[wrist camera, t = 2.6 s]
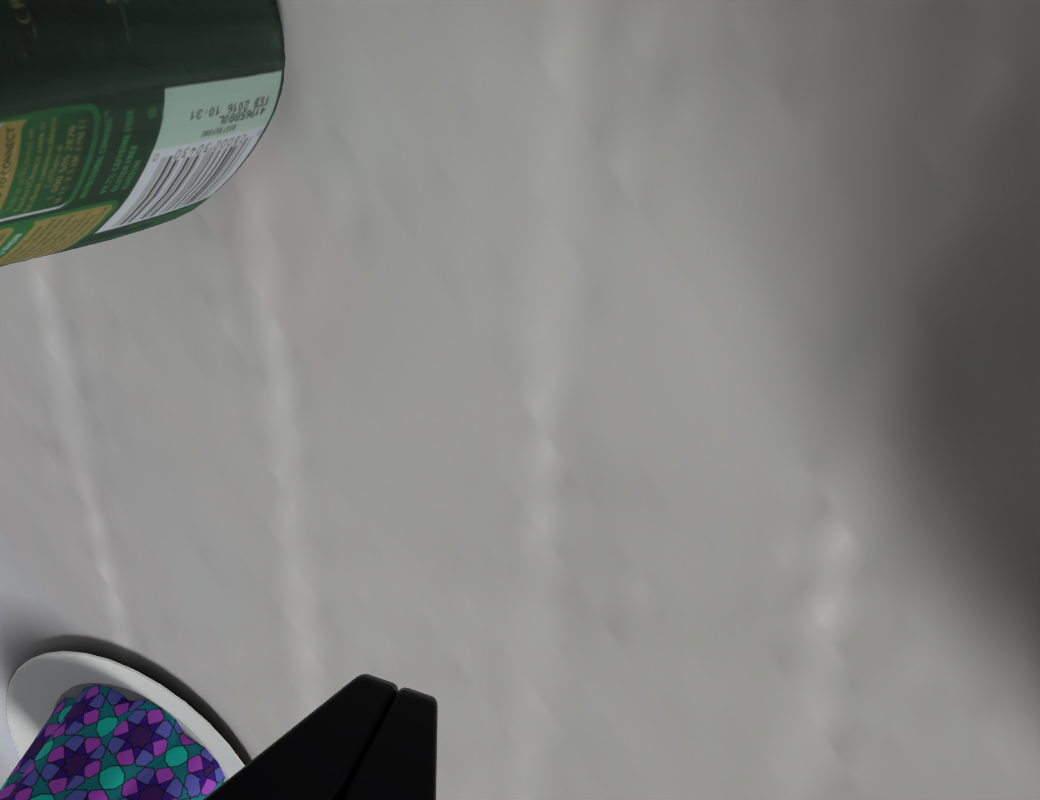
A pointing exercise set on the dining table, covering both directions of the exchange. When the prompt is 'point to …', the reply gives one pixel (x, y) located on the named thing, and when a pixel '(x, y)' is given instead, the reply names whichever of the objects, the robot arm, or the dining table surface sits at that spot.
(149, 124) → the coffee jar
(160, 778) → the purple patterned hat
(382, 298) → the dining table surface
